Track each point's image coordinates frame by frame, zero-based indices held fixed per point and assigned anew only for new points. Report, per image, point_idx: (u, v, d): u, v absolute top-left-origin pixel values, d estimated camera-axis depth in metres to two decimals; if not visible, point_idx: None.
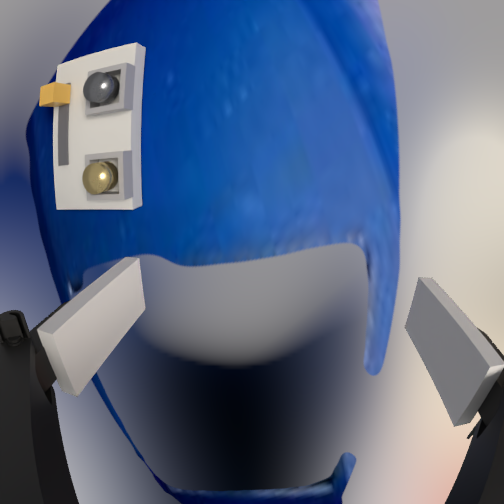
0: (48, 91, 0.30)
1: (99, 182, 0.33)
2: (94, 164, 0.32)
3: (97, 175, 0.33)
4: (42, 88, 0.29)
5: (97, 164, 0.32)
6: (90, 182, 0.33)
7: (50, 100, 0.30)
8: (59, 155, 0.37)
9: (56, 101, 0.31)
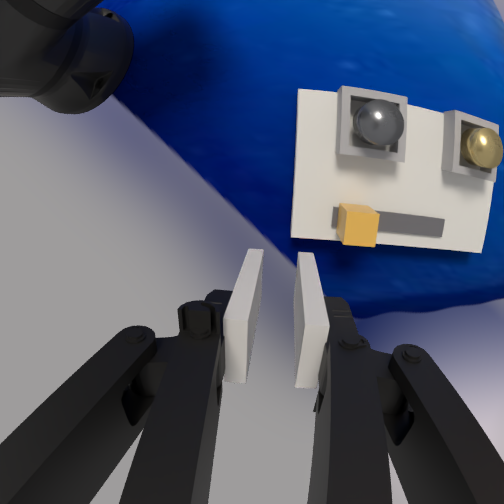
0: (358, 225, 0.25)
1: (493, 140, 0.20)
2: (476, 142, 0.20)
3: (487, 141, 0.20)
4: (348, 239, 0.25)
5: (477, 137, 0.20)
6: (492, 155, 0.20)
7: (375, 219, 0.24)
8: (430, 232, 0.28)
9: (375, 212, 0.25)
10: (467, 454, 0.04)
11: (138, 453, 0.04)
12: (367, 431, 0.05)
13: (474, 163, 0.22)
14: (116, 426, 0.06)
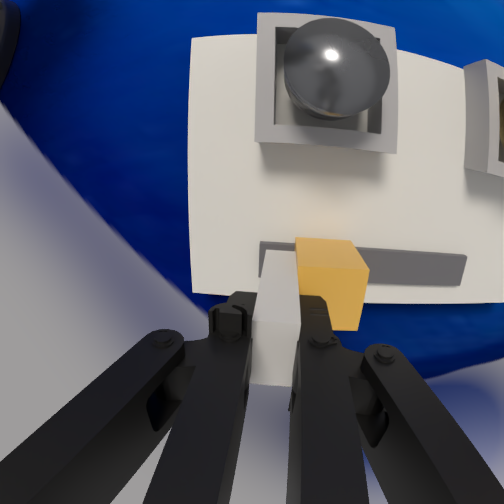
0: (323, 292, 0.12)
1: None
2: None
3: None
4: None
5: None
6: None
7: (361, 280, 0.12)
8: (441, 280, 0.16)
9: (362, 263, 0.13)
10: (446, 457, 0.04)
11: (163, 456, 0.05)
12: (340, 431, 0.05)
13: None
14: (139, 432, 0.06)
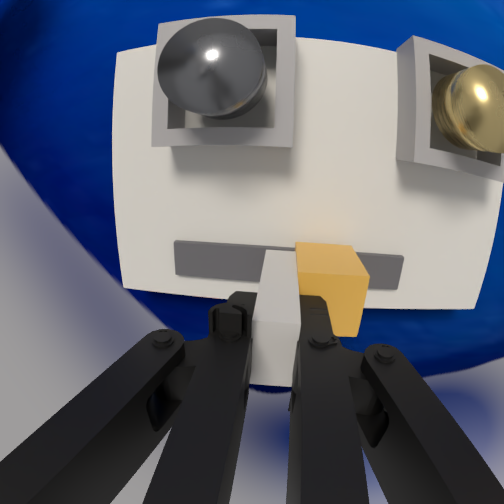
0: (323, 298, 0.12)
1: (503, 93, 0.08)
2: (465, 92, 0.08)
3: (489, 92, 0.08)
4: None
5: (465, 82, 0.08)
6: (503, 123, 0.08)
7: (361, 287, 0.12)
8: (373, 283, 0.16)
9: (362, 269, 0.12)
10: (446, 457, 0.04)
11: (163, 456, 0.04)
12: (340, 431, 0.05)
13: (464, 143, 0.10)
14: (139, 432, 0.06)
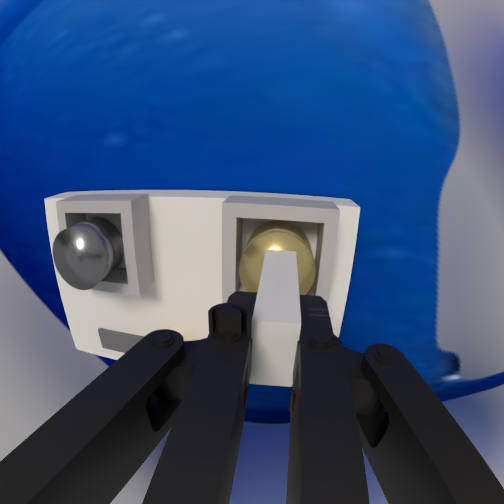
0: None
1: None
2: (242, 266, 0.16)
3: None
4: None
5: (243, 258, 0.16)
6: None
7: None
8: None
9: None
10: (446, 457, 0.04)
11: (163, 456, 0.04)
12: (340, 431, 0.05)
13: None
14: (139, 432, 0.06)
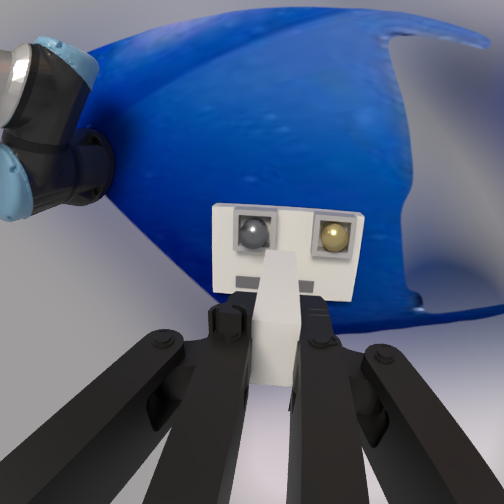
0: None
1: (339, 233, 0.43)
2: (323, 236, 0.43)
3: (333, 234, 0.43)
4: None
5: (323, 233, 0.43)
6: (337, 243, 0.43)
7: None
8: (303, 290, 0.49)
9: None
10: (446, 457, 0.04)
11: (163, 456, 0.04)
12: (340, 431, 0.05)
13: None
14: (139, 432, 0.06)
